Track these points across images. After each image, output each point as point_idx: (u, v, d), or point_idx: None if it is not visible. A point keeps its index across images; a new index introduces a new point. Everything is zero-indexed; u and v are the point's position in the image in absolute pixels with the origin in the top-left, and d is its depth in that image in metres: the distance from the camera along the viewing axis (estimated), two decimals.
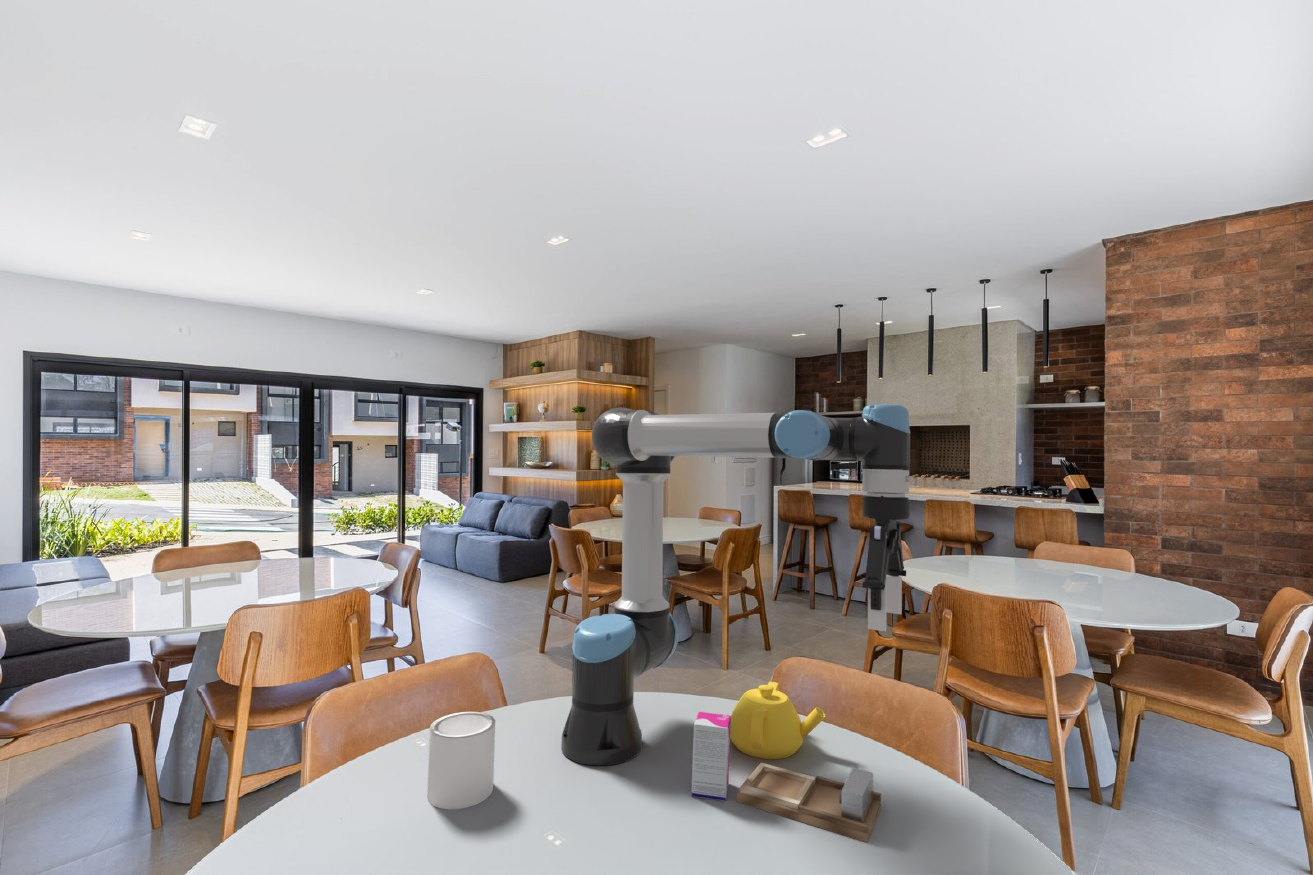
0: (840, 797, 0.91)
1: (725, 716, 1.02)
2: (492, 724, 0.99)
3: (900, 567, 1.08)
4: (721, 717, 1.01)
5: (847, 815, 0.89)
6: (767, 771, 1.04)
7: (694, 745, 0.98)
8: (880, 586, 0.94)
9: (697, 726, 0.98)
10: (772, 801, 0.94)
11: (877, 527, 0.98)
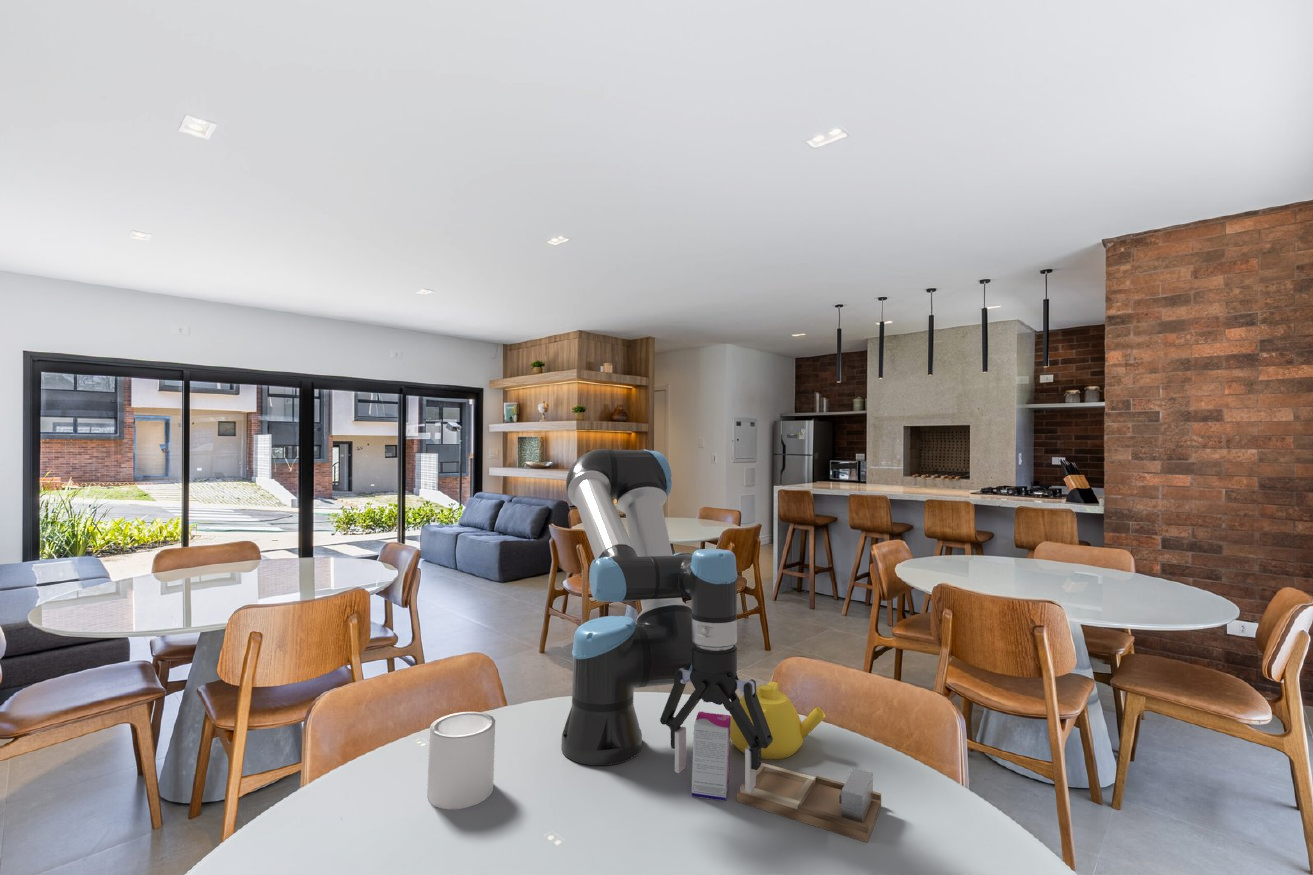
0: (840, 797, 0.91)
1: (725, 716, 1.02)
2: (492, 724, 0.99)
3: (748, 738, 0.96)
4: (721, 717, 1.01)
5: (847, 815, 0.89)
6: (767, 771, 1.04)
7: (694, 745, 0.98)
8: (661, 722, 1.04)
9: (697, 726, 0.98)
10: (772, 801, 0.94)
11: (678, 669, 1.04)
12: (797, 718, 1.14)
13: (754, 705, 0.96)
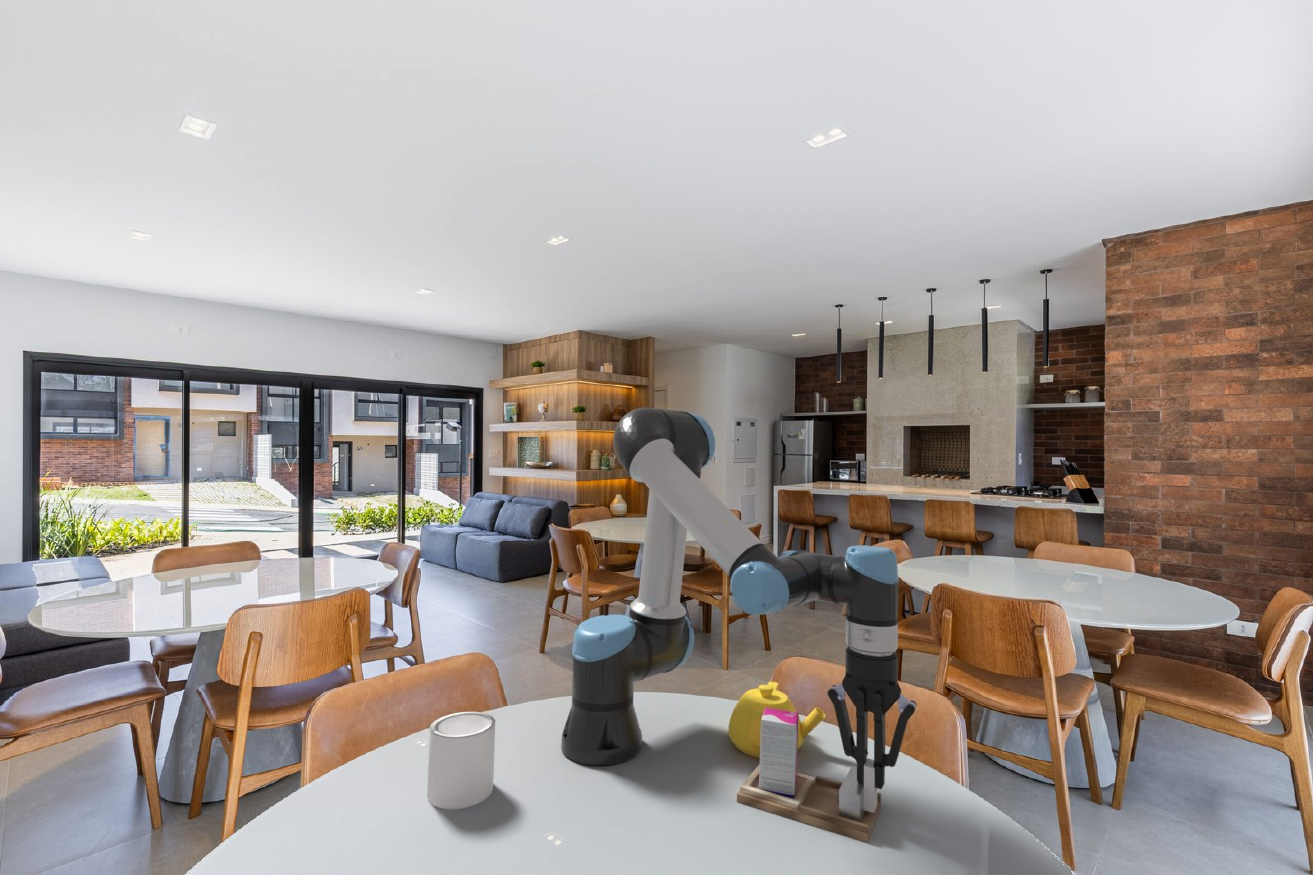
0: (838, 796, 0.91)
1: (793, 713, 1.01)
2: (492, 724, 0.99)
3: (878, 755, 0.90)
4: (789, 714, 1.00)
5: (845, 814, 0.90)
6: None
7: (761, 741, 0.97)
8: (847, 755, 0.93)
9: (764, 722, 0.97)
10: (772, 801, 0.94)
11: None
12: None
13: (905, 727, 0.89)
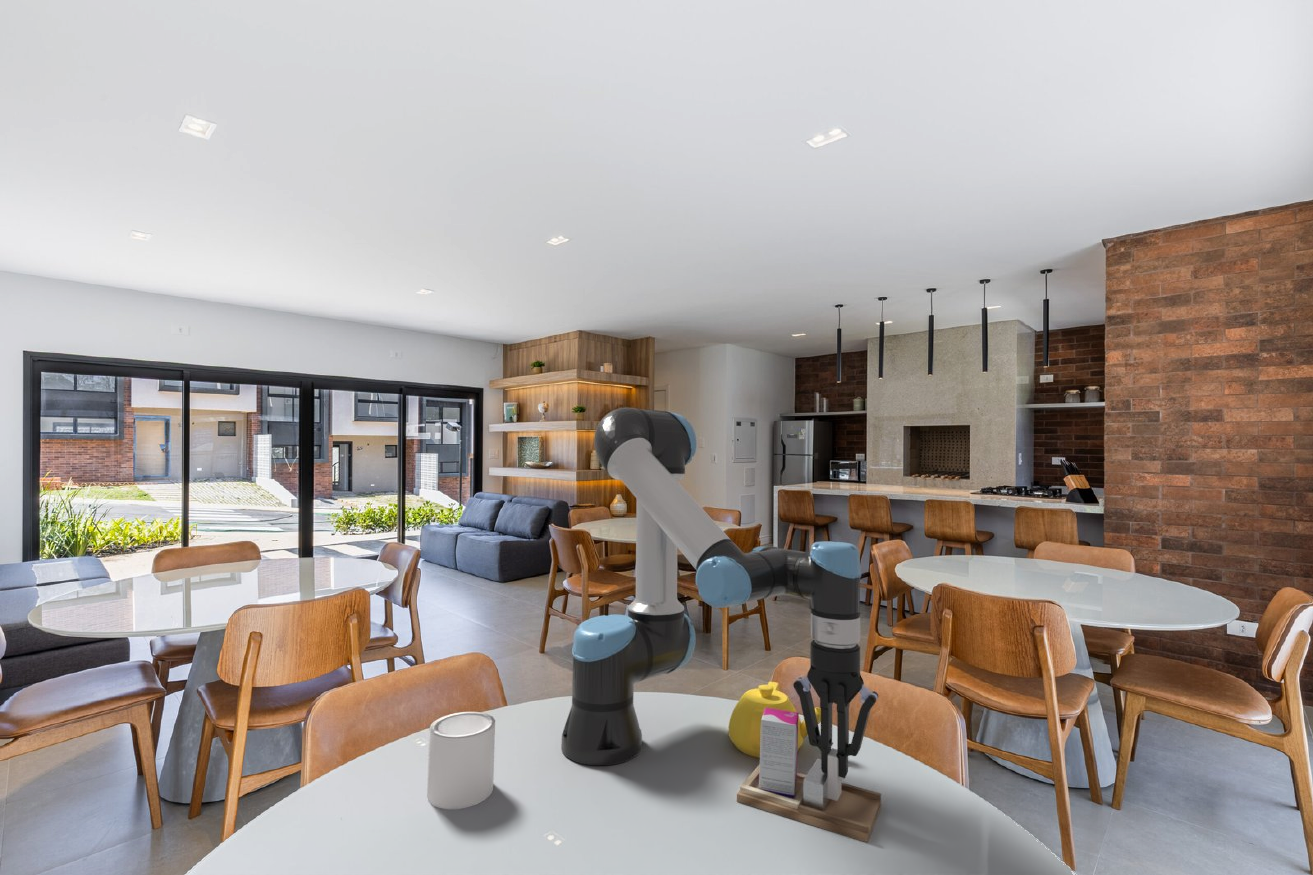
0: (802, 786, 0.94)
1: (793, 713, 1.01)
2: (492, 724, 0.99)
3: (841, 745, 0.93)
4: (789, 714, 1.00)
5: (809, 803, 0.92)
6: None
7: (761, 741, 0.97)
8: (812, 745, 0.95)
9: (764, 722, 0.97)
10: (772, 801, 0.94)
11: None
12: None
13: (866, 717, 0.92)
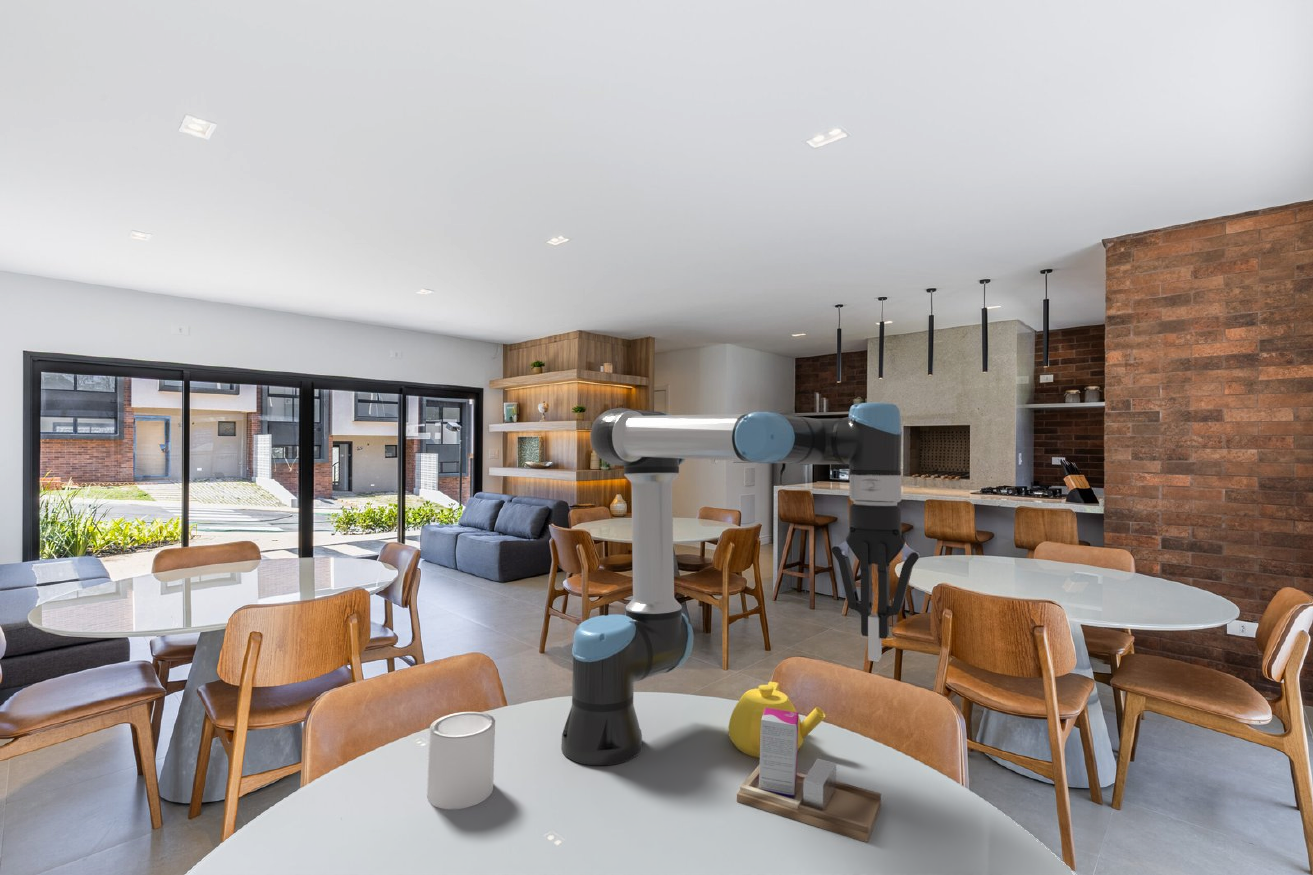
0: (802, 786, 0.94)
1: (793, 713, 1.01)
2: (492, 724, 0.99)
3: (882, 605, 0.91)
4: (789, 714, 1.00)
5: (809, 803, 0.92)
6: None
7: (761, 741, 0.97)
8: (852, 608, 0.93)
9: (764, 722, 0.97)
10: (772, 801, 0.94)
11: None
12: None
13: (909, 575, 0.90)
